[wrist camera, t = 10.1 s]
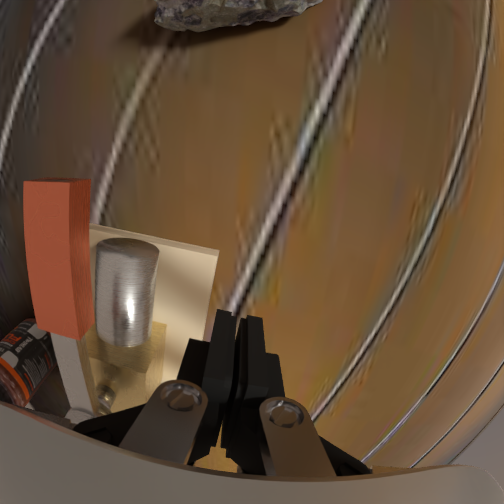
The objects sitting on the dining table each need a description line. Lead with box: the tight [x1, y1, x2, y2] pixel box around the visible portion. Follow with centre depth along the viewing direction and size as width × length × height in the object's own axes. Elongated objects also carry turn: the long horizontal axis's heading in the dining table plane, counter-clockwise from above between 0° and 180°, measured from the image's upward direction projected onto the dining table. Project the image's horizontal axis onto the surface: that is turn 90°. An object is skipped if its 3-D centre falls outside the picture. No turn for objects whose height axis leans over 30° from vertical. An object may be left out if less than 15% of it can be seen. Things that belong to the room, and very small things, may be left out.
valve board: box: [89, 223, 219, 383], centre depth 24 cm, size 19×12×2 cm, turn 167°
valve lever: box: [24, 177, 112, 424], centre depth 13 cm, size 16×3×2 cm, turn 172°
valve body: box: [85, 238, 167, 413], centre depth 20 cm, size 19×6×8 cm, turn 167°
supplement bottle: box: [0, 318, 57, 407], centre depth 20 cm, size 6×6×11 cm
